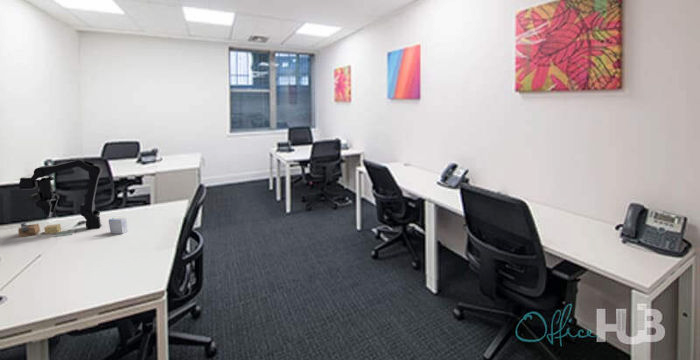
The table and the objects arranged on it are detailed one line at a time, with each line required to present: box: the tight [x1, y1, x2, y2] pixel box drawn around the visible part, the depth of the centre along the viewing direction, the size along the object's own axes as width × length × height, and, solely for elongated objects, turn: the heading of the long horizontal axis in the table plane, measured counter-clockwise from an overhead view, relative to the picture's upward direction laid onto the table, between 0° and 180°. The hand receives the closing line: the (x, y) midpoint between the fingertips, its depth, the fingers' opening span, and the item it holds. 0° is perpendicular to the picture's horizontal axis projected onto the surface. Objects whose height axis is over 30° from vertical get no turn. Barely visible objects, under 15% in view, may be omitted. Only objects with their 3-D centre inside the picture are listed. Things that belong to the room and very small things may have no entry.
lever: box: [20, 222, 29, 232], centre depth 189 cm, size 11×3×2 cm, turn 47°
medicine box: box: [108, 216, 129, 235], centre depth 198 cm, size 8×4×9 cm, turn 84°
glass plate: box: [54, 229, 76, 238], centre depth 196 cm, size 8×7×1 cm
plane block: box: [17, 223, 41, 238], centre depth 195 cm, size 7×7×4 cm
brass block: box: [43, 223, 62, 235], centre depth 198 cm, size 6×4×4 cm
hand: (50, 214), depth 196 cm, fingers open, 7 cm apart
